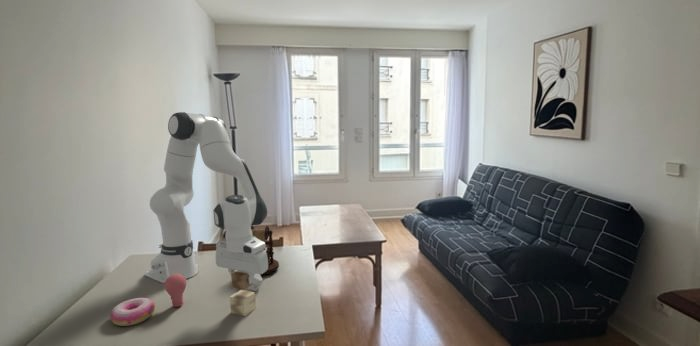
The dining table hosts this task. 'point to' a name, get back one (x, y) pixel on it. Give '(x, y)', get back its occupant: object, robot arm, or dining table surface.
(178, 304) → the light bulb
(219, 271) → the dining table surface
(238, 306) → the oak cube
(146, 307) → the donut
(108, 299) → the dining table surface
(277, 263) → the scroll
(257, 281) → the die
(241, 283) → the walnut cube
